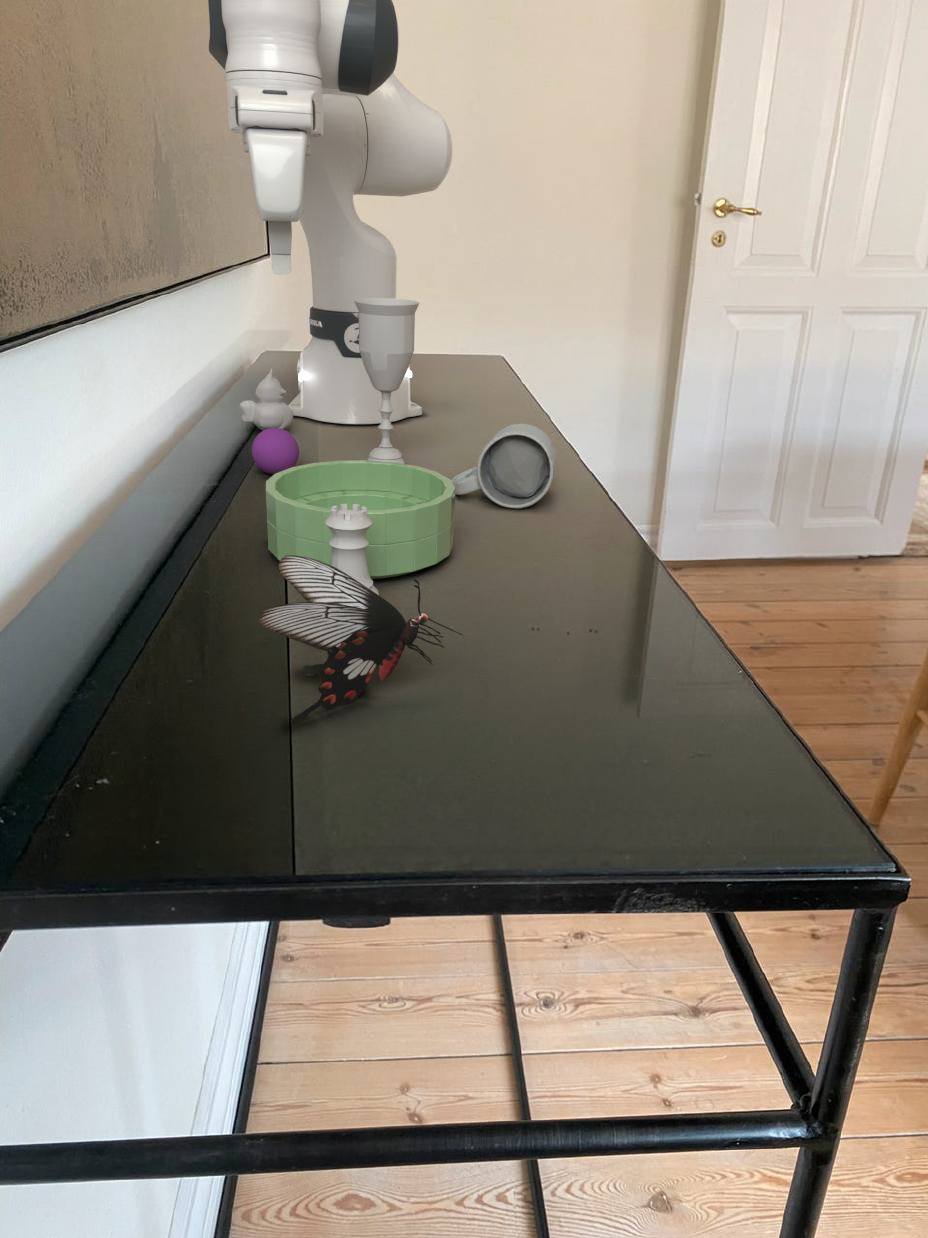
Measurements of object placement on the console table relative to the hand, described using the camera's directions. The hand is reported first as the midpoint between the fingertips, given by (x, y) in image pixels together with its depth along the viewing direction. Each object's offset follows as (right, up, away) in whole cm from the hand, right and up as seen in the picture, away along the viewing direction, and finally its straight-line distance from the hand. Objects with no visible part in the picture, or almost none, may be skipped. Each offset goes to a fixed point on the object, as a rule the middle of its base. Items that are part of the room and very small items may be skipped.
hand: (281, 270), depth 93 cm
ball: (-2, -17, +8) cm, 18 cm away
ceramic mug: (+22, -22, +4) cm, 32 cm away
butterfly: (+11, -40, -37) cm, 56 cm away
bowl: (+9, -29, -12) cm, 33 cm away
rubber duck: (-7, -11, +26) cm, 29 cm away
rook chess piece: (+10, -34, -24) cm, 43 cm away
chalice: (+9, -18, +12) cm, 24 cm away
